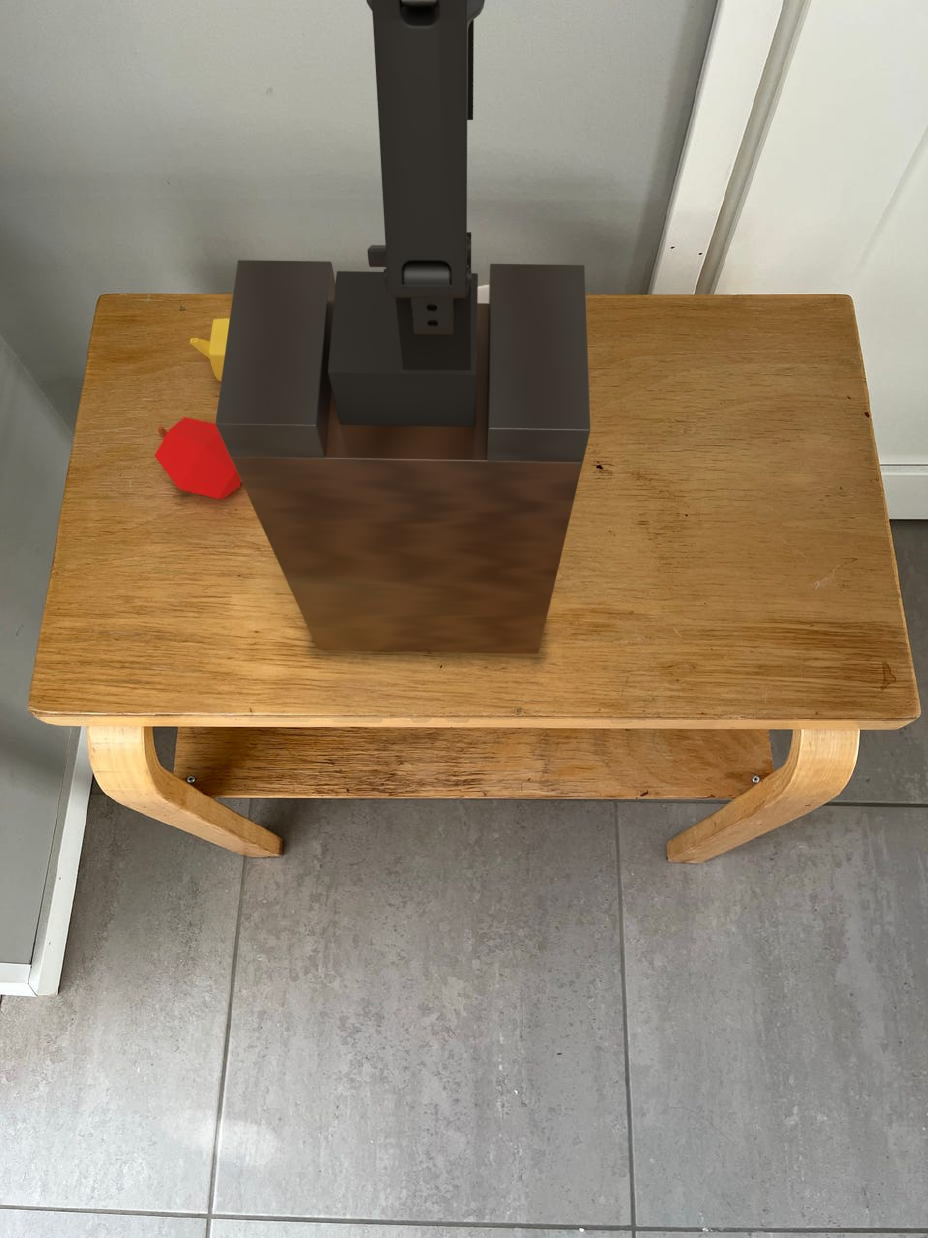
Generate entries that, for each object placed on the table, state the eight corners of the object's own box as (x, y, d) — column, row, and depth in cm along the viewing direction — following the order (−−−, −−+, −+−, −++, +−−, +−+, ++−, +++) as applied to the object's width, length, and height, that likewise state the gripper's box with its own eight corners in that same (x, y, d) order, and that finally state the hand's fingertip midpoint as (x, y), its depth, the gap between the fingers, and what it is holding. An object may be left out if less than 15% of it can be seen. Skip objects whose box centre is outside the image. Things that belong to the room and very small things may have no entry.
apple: (263, 444, 75) (179, 386, 74) (215, 512, 74) (129, 454, 73) (264, 459, 82) (187, 405, 81) (220, 521, 81) (142, 468, 80)
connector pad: (476, 332, 49) (477, 272, 45) (475, 427, 47) (476, 374, 43) (347, 329, 49) (336, 270, 45) (339, 425, 47) (327, 371, 43)
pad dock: (537, 543, 78) (584, 264, 47) (538, 654, 74) (590, 430, 44) (326, 539, 78) (237, 258, 47) (317, 650, 75) (214, 424, 44)
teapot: (197, 399, 83) (181, 363, 78) (205, 346, 85) (189, 309, 80) (285, 400, 83) (274, 365, 78) (290, 348, 85) (280, 310, 80)
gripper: (283, -761, 24) (367, 26, 44) (156, -168, 15) (334, 485, 35) (571, -762, 24) (524, 27, 44) (620, -167, 15) (533, 487, 35)
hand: (440, 230), depth 39 cm, fingers open, 13 cm apart
